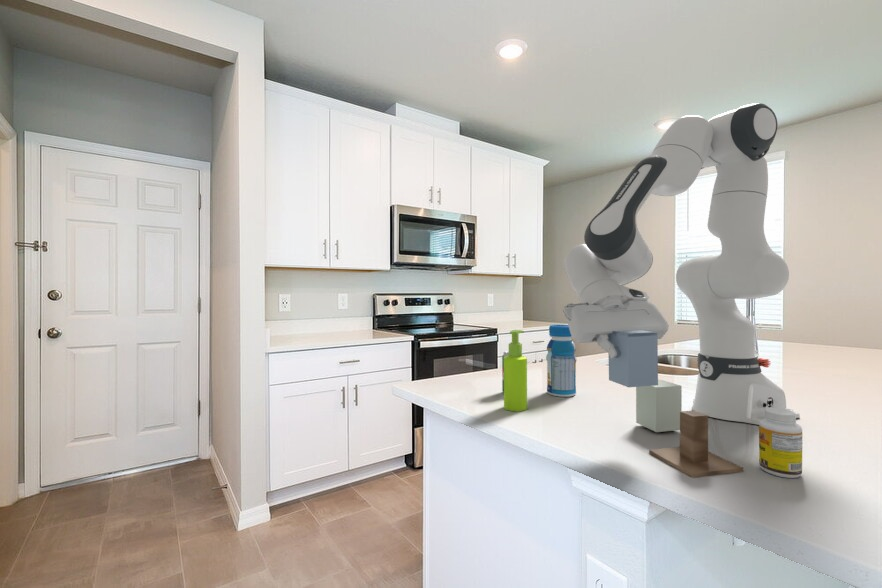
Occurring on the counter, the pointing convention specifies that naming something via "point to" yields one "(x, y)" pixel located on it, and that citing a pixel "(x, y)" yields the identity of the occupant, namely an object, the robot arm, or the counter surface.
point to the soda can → (503, 369)
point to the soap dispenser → (515, 376)
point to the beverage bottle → (561, 362)
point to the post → (695, 449)
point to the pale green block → (659, 406)
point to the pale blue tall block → (634, 358)
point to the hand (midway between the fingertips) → (634, 355)
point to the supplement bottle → (780, 443)
